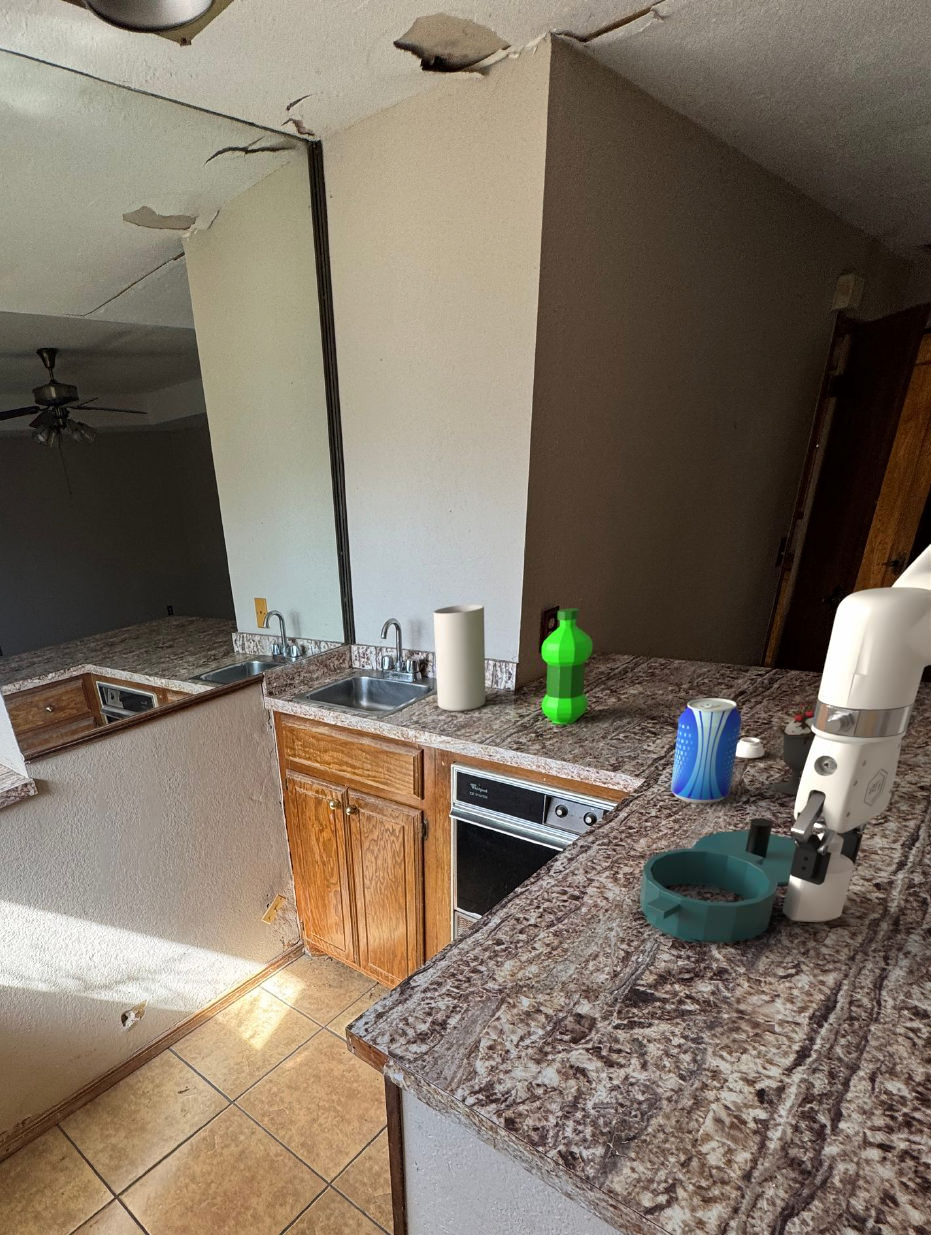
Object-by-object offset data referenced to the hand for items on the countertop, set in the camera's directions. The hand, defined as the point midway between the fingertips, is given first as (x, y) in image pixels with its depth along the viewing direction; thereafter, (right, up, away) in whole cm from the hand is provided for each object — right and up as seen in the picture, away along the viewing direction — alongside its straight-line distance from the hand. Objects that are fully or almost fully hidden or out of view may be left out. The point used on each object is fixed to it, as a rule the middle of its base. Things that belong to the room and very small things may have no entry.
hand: (822, 868), depth 74 cm
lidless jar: (+23, +19, +47) cm, 55 cm away
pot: (-10, -6, +6) cm, 13 cm away
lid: (+3, +1, +15) cm, 15 cm away
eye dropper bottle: (+1, -6, +3) cm, 7 cm away
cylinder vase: (-17, +39, +101) cm, 109 cm away
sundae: (+21, +11, +32) cm, 40 cm away
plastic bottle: (+2, +31, +78) cm, 84 cm away
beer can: (+7, +10, +34) cm, 36 cm away
